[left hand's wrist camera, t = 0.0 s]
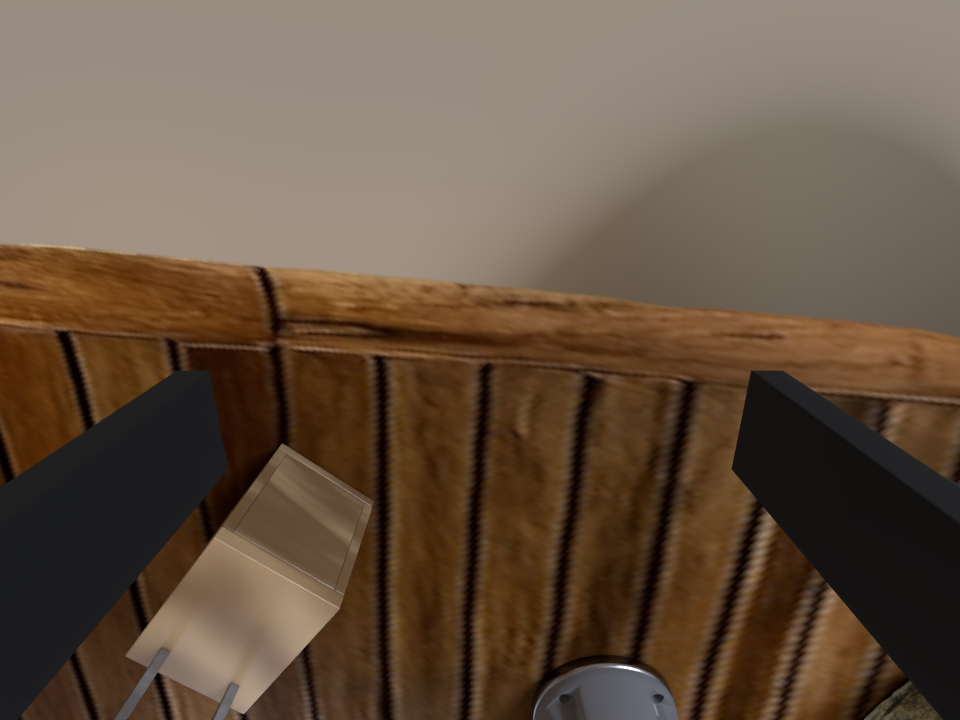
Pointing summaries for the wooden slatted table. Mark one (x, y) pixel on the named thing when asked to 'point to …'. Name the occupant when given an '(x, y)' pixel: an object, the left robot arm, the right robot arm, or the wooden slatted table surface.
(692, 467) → the wooden slatted table surface
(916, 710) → the fossil
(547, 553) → the wooden slatted table surface
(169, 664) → the lid
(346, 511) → the chest
